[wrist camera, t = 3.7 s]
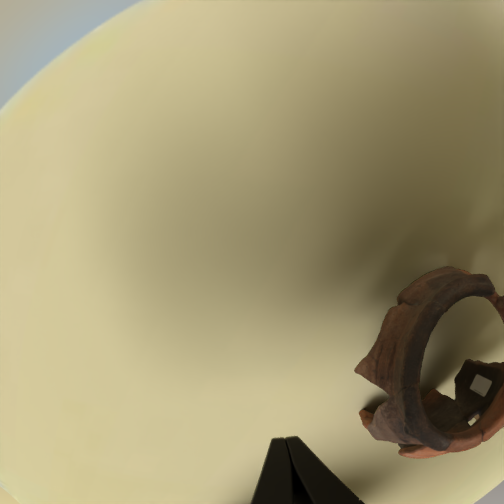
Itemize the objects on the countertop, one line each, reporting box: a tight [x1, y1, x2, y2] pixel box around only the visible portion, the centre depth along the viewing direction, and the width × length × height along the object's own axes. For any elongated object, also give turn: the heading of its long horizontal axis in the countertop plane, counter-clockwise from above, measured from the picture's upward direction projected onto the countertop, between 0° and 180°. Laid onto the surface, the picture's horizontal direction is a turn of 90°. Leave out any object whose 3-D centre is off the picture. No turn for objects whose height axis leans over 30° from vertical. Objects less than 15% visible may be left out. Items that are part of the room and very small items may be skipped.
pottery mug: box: [354, 266, 504, 458], centre depth 12 cm, size 12×10×8 cm
